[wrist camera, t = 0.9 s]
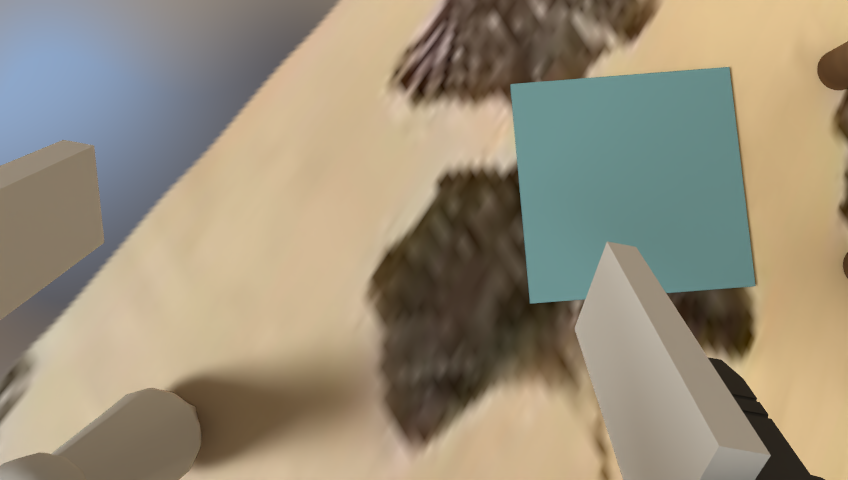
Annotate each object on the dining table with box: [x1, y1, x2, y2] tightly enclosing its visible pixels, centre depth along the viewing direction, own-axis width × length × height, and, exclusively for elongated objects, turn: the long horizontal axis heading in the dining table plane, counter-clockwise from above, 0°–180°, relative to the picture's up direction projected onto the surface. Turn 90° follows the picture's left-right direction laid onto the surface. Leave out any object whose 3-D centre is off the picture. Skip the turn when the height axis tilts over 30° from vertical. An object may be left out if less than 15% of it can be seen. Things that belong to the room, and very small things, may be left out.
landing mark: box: [510, 67, 755, 303], centre depth 34 cm, size 14×14×1 cm
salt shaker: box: [0, 388, 202, 480], centre depth 27 cm, size 6×6×13 cm
